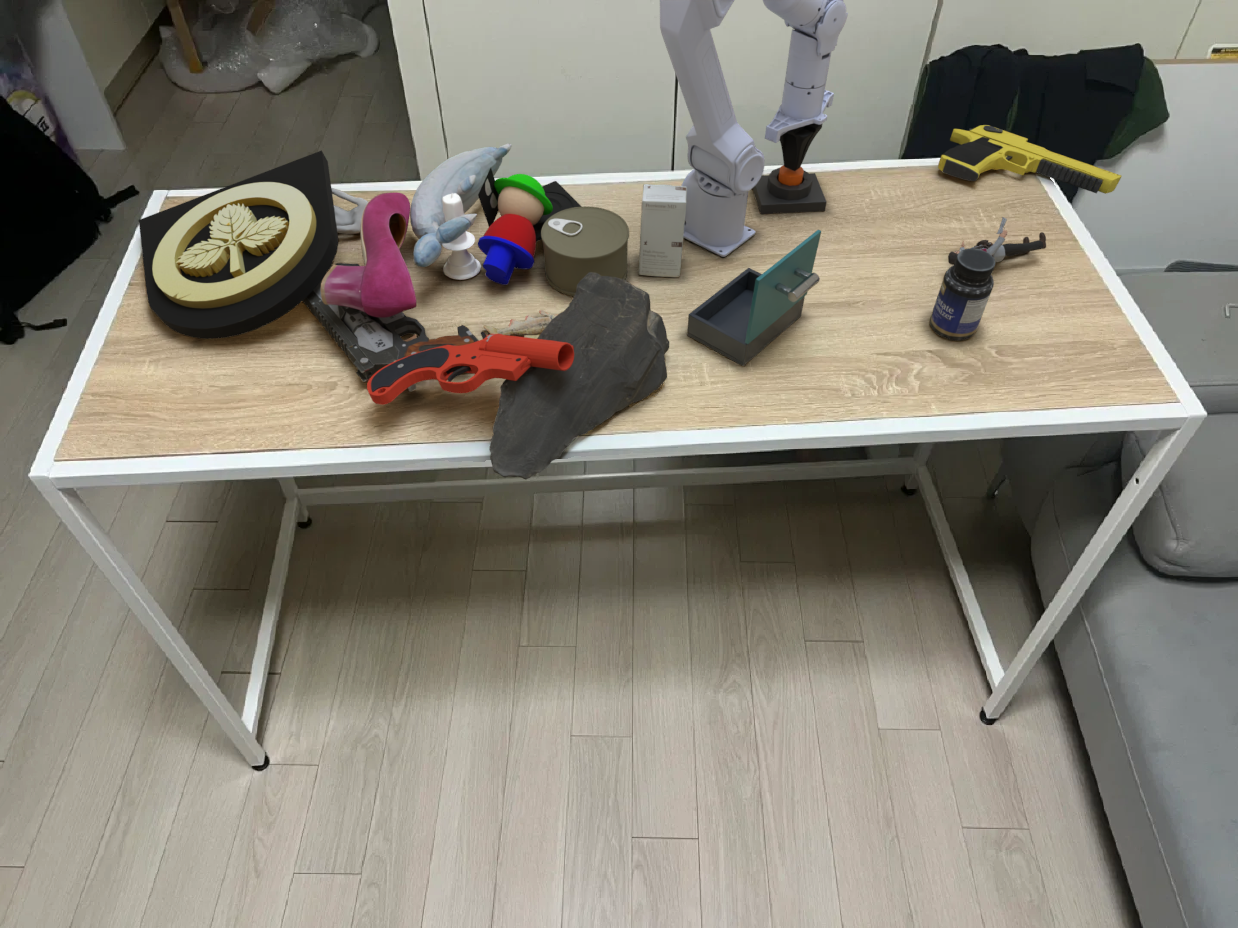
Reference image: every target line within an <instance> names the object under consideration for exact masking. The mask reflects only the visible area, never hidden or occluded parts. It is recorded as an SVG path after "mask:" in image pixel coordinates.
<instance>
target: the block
mask: <svg viewBox="0 0 1238 928" xmlns="http://www.w3.org/2000/svg"><path fill="white" fill-rule="evenodd" d="M779 171H780V167H777V168H775V169H773V170H771V171H770V173H769V174H768V175H765V174H764V175H762V176H761V178H760V180H759V181H758V183H757V184H756V185H755V186H754V187H753V188H752V189H751V190H752V193H753V196H754V199H755V201H756V206H757V207H758V211H759V214H760V215H772V214H773V215H774V214H791V213H792V214H793V213H794V214H795V213H814V212H825V211H826V207H827V202H828V201H827V199H826V196H825V194H824V191H823V190H822V187H821V184H820V182H819V179H818V177H817V175H816V172H811V173H809V172H808V171H806V170H804V173H803V179H802V183H801V184H799V185H796V186H789V185H784V184H782V183H780V182H779V180H778V178H779Z"/></svg>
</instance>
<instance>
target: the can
mask: <svg viewBox="0 0 1238 928" xmlns="http://www.w3.org/2000/svg"><path fill="white" fill-rule="evenodd" d="M629 237H630V229H629V225H628V223H627V221H626V220H625V219H624V218H623V217H622V216H621V215H619V214H618V213H616V212H614V211H612V210H609V209H606V208H603V207H599V206H598V207H597V206H587V205H586V206H582V207H574V208H569V209H565V210H562V211H560V212H558V213H556V214H554V215H552V216H551V217H550V218H549V219H547V220H546V222H545V223H544V225H543V227H542V230H541V238H542V240H541V242H542V247H543V260H544V272H545V273H544V274H545V278H546V281H547V282H548V284H549V285H550V286H551V287H552V289H554V290H556V291H557V292H559V293H561V294H563V295H565V296H569V297H572V298H573V297H574V295H575V293H576V289H577V284H578V283H579V282H580V281H581V280H582V279H583V278H584V277H585V276H586V275H587V274H588V273H589V272H592V273H598V274H599V275H601V276H610V277H617V278H621V279H624V280H626V279H627V276H628V248H629V245H628V244H629Z"/></svg>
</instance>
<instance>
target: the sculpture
mask: <svg viewBox="0 0 1238 928" xmlns="http://www.w3.org/2000/svg"><path fill="white" fill-rule="evenodd" d="M512 147H513V145H512V143H505V144H503V145H501V146H499V147H495V146H485V147H480V148H479V147H478V148H475V149H471V150H470V149H469V150H466V151H462V152H460V153H458V154H456V155H453V156H451V157H449V158H447V159H445V160H444V161H442V162H441V163H440V164H439V165H437V167H435V168H434V169H433V170H431V171H430V173H428V174H427V175H426V176H425V178H424V179H422V181H421V182H420V184H419V185H418V187H416V190H415V192H414V193H413V196H412V200H411V202H410V216H409V222H410V225H411V230H412V232H413V234H414V236H415V237H416V238H417V239H418V240H417V241H416V242H415V244H414V247H413V253H412V255H413V264H414V265H415V266H416V267H419V268H428V267H429V266H430V265H433V264H434V263H435V262H436V261H437V260H438V259H439V257H440V256H441V253H442V249H443V246H442V244H445V243H450V242H452V241H454V240H456V239H457V238H458V237H460V236H461V235H462V234H463V233H464V232H465V231H468V230H469V229H470V227H472V226H473V225H474V223H475V221H476V219H477V215H478V214H477V213H467V212H468V211H469V210H470V209H471V208H472V207H473V206H474V205H475V204H476V202H477V201H478V200H480V199H479V196H478V194H479V192H480V190H481V187H482V185H483V183H484V181H485V179H486V177H487V175H488V172H489V170H490V168H491V169H492V172H493V176H494V177H495V175H496V174H497V172H498V171H499V169H500V167H501V165H502V163H503V159H504V157H505V156H506V155H508V154H509V152H510V151H511V149H512ZM452 193H456V194H458V195H459V196H460V198H461V201H462V204H463V211H464V214H465V215H462V216H459V217H457V218H453V219H451V220H449V221H447V222H445V216H444V213H443V203H442V198H443V197H444V196H446V195H448V194H452Z"/></svg>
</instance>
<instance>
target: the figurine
mask: <svg viewBox="0 0 1238 928" xmlns="http://www.w3.org/2000/svg"><path fill="white" fill-rule="evenodd" d="M331 189H332V195H335V196H336V197H338V198H339V199H342V200H345V201H347V202H350V203H352V204H354V205H357V206H355V207H353V208H352V209H350V210H346V209H344V208H342V207H341V206H339V205H336V204H334V211H335V218H336V226H337V234H345V235H352V234H354V235H355V234H361V218H362V214H363V211H364V209H365V207H366V205H367V203H368V202H369V201H368V200H367V199H365V198H363V197H356V196H353V195H351V194H348V193H347V192H345V191H343V190H341V189H338V188H335V187H331Z"/></svg>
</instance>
